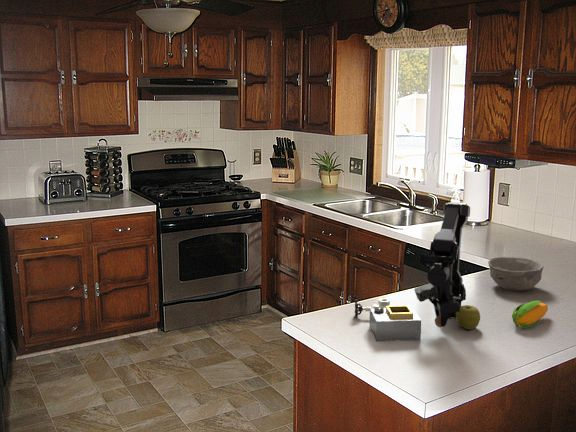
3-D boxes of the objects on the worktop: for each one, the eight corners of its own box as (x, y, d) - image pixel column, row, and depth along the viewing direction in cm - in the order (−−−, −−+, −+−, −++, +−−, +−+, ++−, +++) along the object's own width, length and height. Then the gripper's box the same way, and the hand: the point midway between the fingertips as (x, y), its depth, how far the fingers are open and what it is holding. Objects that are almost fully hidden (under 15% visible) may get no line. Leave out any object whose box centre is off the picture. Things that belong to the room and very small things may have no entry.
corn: (507, 305, 204) (536, 291, 217) (504, 327, 206) (533, 312, 219) (528, 312, 199) (557, 298, 212) (525, 334, 201) (553, 318, 214)
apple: (469, 322, 211) (470, 301, 209) (484, 330, 203) (486, 309, 202) (450, 325, 208) (451, 305, 206) (465, 333, 201) (466, 312, 199)
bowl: (475, 284, 251) (476, 260, 249) (514, 277, 260) (515, 254, 258) (513, 299, 233) (515, 273, 231) (554, 291, 241) (556, 266, 239)
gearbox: (411, 326, 208) (411, 302, 206) (420, 340, 196) (421, 315, 194) (369, 327, 207) (369, 303, 205) (376, 341, 195) (376, 316, 194)
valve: (389, 315, 218) (354, 314, 220) (389, 297, 217) (354, 296, 218) (390, 321, 212) (354, 321, 213) (390, 303, 211) (355, 302, 212)
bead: (444, 324, 201) (445, 313, 201) (448, 329, 198) (448, 317, 197) (433, 325, 201) (433, 313, 201) (436, 329, 198) (436, 318, 197)
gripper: (410, 269, 205) (408, 314, 208) (425, 286, 187) (423, 335, 190) (443, 268, 206) (441, 313, 209) (461, 285, 187) (459, 334, 190)
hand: (440, 323), depth 199 cm, fingers closed on bead, 4 cm apart
